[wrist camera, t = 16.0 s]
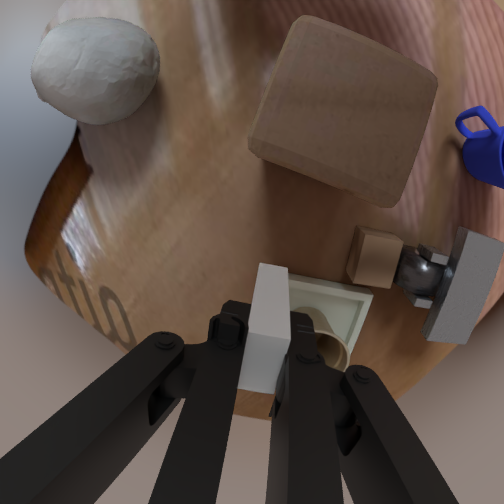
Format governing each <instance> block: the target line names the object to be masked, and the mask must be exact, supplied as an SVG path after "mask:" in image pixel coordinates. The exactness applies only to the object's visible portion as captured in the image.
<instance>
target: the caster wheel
mask: <svg viewBox="0 0 504 504" xmlns="http://www.w3.org/2000/svg"><path fill="white" fill-rule="evenodd" d="M503 252H504V243H503V242H501V241H499V240H497V239H495V238H492V237H489V236H486V235H484V234H481V233H478V232H475V231H472V230H470V229H467V228H464V227H461V226H459V228H458V231H457V235H456V238H455V241H454V245H453V248H452V251H451V254H450V257H448V256H447V255H445V254H444V253H442V252H441V251H439V250H438V249H436V248H435V247H432V246H428V245H425V244H421V243H419V245H418V248H415V247H412V246H407V245H403V246H402V250H401V253H400V257H399V261H398V264H397V267H396V271H395V274H394V278H393V282H394V283H395V284H397V285H398V286H400V287H402V288H404V290H403V293H404V294H405V295H406V297H407V298H408V299H409V300H410V302H411V303H412V304H413V305H414V306H416V307H422V308H428V309H430V311H429V313H428V315H427V318H426V320H425V322H424V325H423V327H422V329H421V331H420V332H421V333H422V334H423V336H424V337H425V339H426V340H427V341H435V342H445V343H456V344H466V342H467V340H468V338H469V336H470V334H471V332H472V330H473V328H474V326H475V324H476V322H477V320H478V317H479V315H480V313H481V311H482V308H483V306H484V304H485V301H486V299H487V296H488V294H489V291H490V289H491V286H492V284H493V281H494V278H495V276H496V273H497V270H498V267H499V264H500V261H501V258H502V255H503ZM448 259H449V260H448ZM447 262H448V263H447ZM428 296H435V299H434V301H432V300H431V299H430V298H429V297H428ZM432 302H433V304H432ZM431 305H432V306H431ZM430 307H431V308H430Z"/></svg>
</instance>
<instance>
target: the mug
mask: <svg viewBox="0 0 504 504" xmlns="http://www.w3.org/2000/svg"><path fill="white" fill-rule="evenodd" d="M473 116H478V117H480V118H481V120H482V121H483V122H484V123H485V124H486V125H487V127H488V128H489V129H487V130H481V131H477V132H474V133H472V132H470V131H469V130H468V129H467V128H466V127H465V125H464V124H463V122H462V120H464V119H466V118H469V117H473ZM455 124H456V127H457V129H458V130H459V132H460V133H461V134H462V135H464V136H465V137H466V138H467V139H466V141H465V143H464V146H463V160H464V164H465V166H466V168H467V170H468V172H469V173H470V174H471V175H472V176H473V177H474V178H476V179H478V180H480V181H483V182H486V183H488V184H491V185H494V186H497V187H500V188H502V189H504V126H503V127H499V126H498V125H497V123H496V121H495V120H494V119H493V117H492V116H491V115H490V113H489V112H488V111H487V110H486V109H485V108H484V107H483V106H477V107H473V108H470V109H468V110H466V111H464V112H462V113H461V114H460V115H459V116H458V117H457V119H456V121H455Z"/></svg>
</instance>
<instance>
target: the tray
mask: <svg viewBox="0 0 504 504" xmlns="http://www.w3.org/2000/svg"><path fill="white" fill-rule="evenodd" d="M288 284H289V306H290V311H293V310H295V309H297V308H299V307H313V308H316V309H318V310H320V311H321V312H322V313H323V314H324V315H325V317H326V319H327V321H328V323H329V325H330V326H331V328H332V330H333V332H334V333H335V334H336V335H337V336H339V337H340V338H341V339H342V340H343V341H344V342H345V343H346V345H347V347H348V349H349V352H350V355H351V352H352V350H353V348H354V345H355V343H356V340H357V338H358V335H359V333H360V330H361V328H362V325H363V323H364V320H365V318H366V315H367V312H368V310H369V307H370V304H371V301H372V299H373V296H374V295H373V294H372V292H371V291H370V289H369V288H363V287H358V286H353V285H348V284H343V283H337V282H332V281H327V280H322V279H317V278H312V277H307V276H302V275H297V274H292V273H288Z"/></svg>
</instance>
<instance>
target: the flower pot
mask: <svg viewBox="0 0 504 504" xmlns="http://www.w3.org/2000/svg"><path fill="white" fill-rule="evenodd" d="M293 311H295V312H300V313H306V314H308V315H309V316H310V318H311V319H312V320H313V325H314V331H315V338H316V344H317V351H318V352H319V353H320V354H321V355H322V356H323V357H324V359H325V364H326V365H328V366H329V367H332V368H334V369H337V370H340V371H343V372H345V370H346V368H348V366H349V362H350V352H349V349H348V347H347V345H346V343H345V342H344V341H343V340H342V339H341V338H340V337H339V336H337V335H336V334H335V333H334V332H333V330H332V328H331V326H330V325H329V323H328V321H327V319H326V317H325V315H324V314H323V313H322V312H321V311H320V310H318V309H316V308H313V307H299V308H297V309H295V310H293Z"/></svg>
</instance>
